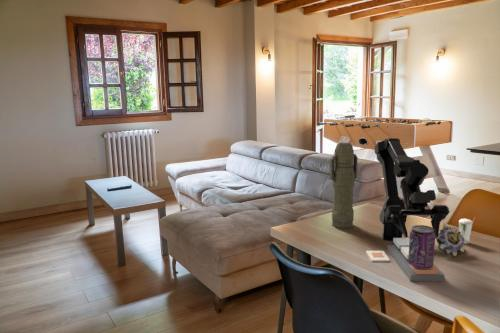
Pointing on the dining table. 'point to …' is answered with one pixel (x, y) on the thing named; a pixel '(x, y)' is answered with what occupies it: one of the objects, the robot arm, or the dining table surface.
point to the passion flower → (451, 240)
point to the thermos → (343, 185)
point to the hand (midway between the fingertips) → (421, 237)
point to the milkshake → (465, 228)
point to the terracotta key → (425, 270)
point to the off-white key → (405, 251)
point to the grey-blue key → (401, 242)
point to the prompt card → (378, 256)
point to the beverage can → (421, 247)
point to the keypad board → (408, 271)
